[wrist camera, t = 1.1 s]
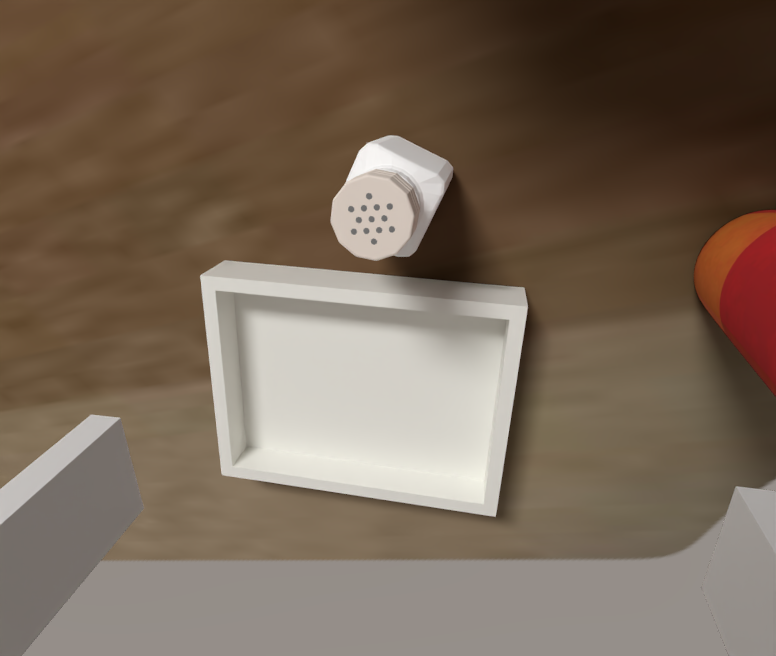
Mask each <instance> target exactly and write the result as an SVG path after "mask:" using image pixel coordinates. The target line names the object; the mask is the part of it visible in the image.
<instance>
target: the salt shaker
mask: <svg viewBox="0 0 776 656" xmlns="http://www.w3.org/2000/svg"><path fill="white" fill-rule="evenodd" d="M452 177H453V167H452V165H451V164H450V163H449V162H448V161H447V160H445V159H443V158H441V157H439V156H437V155H435V154H433V153H431V152H429V151H427V150H425V149H423V148H421V147H419V146H417V145H415V144H413V143H411V142H409V141H407V140H405V139H403V138H401V137H399V136H390V135H389V136H386V137H383V138H380V139H377V140H374V141H372V142H369V143H367V144H366V145H365V146H364V147H363V148H362V149H361V150H360V151H359V153H358V155H357V157H356V160H355V162H354V164H353V166H352V169H351V171H350V173H349V176H348V178H347V180H346V183H345V185H344V186H343V187H342V188H341V190H340V191H339V192H338V194H337V195H336V196H335V198H334V199H333V204H332V213H331V221H330V222H331V224H332V227H333V229H334V231H335V234H336V236H337V239H338V241H339V243H340V244H342V245H343V246H344V247H345V248H346V249H347V250H349V251H350V252H351V253H352V254H353V255H355V256H356V257H361V258H366V259H370V260H375V261H378V260H381V259H384V258H387V257H390V256H393V255H395V256H397V257H409V256H410V255H412V254H413V253H414V252H416V250H417V248H418V246H419V244H420V242H421V240H422V238H423V236H424V234H425V232H426V230H427V228H428V226H429V224H430V222H431V220H432V218H433V216H434V214H435V212H436V210H437V208H438V206H439V204H440V202H441V200H442V198H443V196H444V193H445V191H446V189H447V187H448V185H449V183H450V181H451V179H452Z"/></svg>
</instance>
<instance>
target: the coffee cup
mask: <svg viewBox="0 0 776 656" xmlns="http://www.w3.org/2000/svg"><path fill="white" fill-rule="evenodd" d="M694 284H695V288H696V292H697V294H698V297H699V299H700V300H701V302H702V303H703V305H704V307H705V308H706V310H707V311H708V312H709V314H710V315H711V316H712V318H713V319H714V320H715V322H716V323H717V324H718V325H719V327H720V328H721V329H722V330H723V332H724V333H725V334H726V336H727V337H728V338H729V339H730V341H731V342H732V343H733V344H734V346H735V347H736V348H737V349H738V351H739V352H740V353H741V354H742V356H743V357H744V358H745V359H746V361H747V362H748V363H749V364H750V366H751V367H752V368H753V369H754V371H755V372H756V373H757V374H758V376H759V377H760V378H761V379H762V380H763V382H764V383H765V384H766V385H767V387H768V388H769V389H770V390H771V392H772V393H773V394H774V395H775V397H776V210H762V211H756V212H752V213H748V214H745V215H742V216H740V217H738V218H736V219H734V220H732V221H730V222H728V223H727V224H725V225H724V226H722V227H721V228H720V229H719V230H717V231H716V232H715V233H714V234H713V235H712V236H711V237H710V238H709V239H708V241H707V242H706V243H705V245H704V246H703V248H702V249H701V251H700V253H699V255H698V258H697V261H696V264H695V269H694Z"/></svg>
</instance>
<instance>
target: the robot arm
mask: <svg viewBox="0 0 776 656" xmlns="http://www.w3.org/2000/svg"><path fill="white" fill-rule="evenodd" d="M143 509H144V507H143V503H142V499H141V496H140V492H139V488H138V484H137V480H136V476H135V472H134V469H133V465H132V461H131V457H130V453H129V449H128V445H127V442H126V438H125V434H124V430H123V426H122V422H121V419H120V418H116V417H107V416H98V415H90V416H89V417H88V418H87V419H85V420H84V421H83V422H82V423H80V424H79V425H78V426H77V427H76V428H74V429H73V430H72V431H71V432H69V433H68V434H67V435H66V436H65V437H63V438H62V439H61V440H60V441H58V442H57V443H56V444H55V445H54V446H52V447H51V448H50V449H49V450H47V451H46V452H45V453H44V454H43V455H41V456H40V457H39V458H38V459H36V460H35V461H34V462H33V463H32V464H30V465H29V466H28V467H27V468H25V469H24V470H23V471H22V472H21V473H19V474H18V475H17V476H16V477H14V478H13V479H12V480H11V481H10V482H8V483H7V484H6V485H5V486H3V487H2V488H1V489H0V656H22V655H23V654H24V652H25V651H26V650H27V649H28V647H29V646H30V645H31V644H32V643H33V641H34V640H35V639H36V638H37V637H38V635H39V634H40V633H41V632H42V631H43V629H44V628H45V627H46V626H47V625H48V623H49V622H50V621H51V620H52V619H53V617H54V616H55V615H56V614H57V613H58V611H59V610H60V609H61V608H62V607H63V605H64V604H65V603H66V602H67V600H68V599H69V598H70V597H71V596H72V594H73V593H74V592H75V591H76V590H77V588H78V587H79V586H80V585H81V583H82V582H83V581H84V580H85V579H86V577H87V576H88V575H89V574H90V573H91V572H92V570H93V569H94V568H95V567H96V565H97V564H98V563H99V562H100V561H101V560H102V558H103V557H104V556H105V555H106V554H107V552H108V551H109V550H110V549H111V547H112V546H113V545H114V544H115V543H116V541H117V540H118V539H119V538H120V537H121V535H122V534H123V533H124V532H125V531H126V529H127V528H128V527H129V526H130V525H131V523H132V522H133V521H134V520H135V519H136V517H137V516H138V515H139V514H140V513H141V511H142V510H143ZM701 588H702V591H703V593H704V596H705V598H706V601H707V603H708V606H709V608H710V611H711V613H712V616H713V618H714V621H715V623H716V626H717V628H718V631H719V633H720V636H721V638H722V641H723V643H724V646H725V648H726V651H727V653H728V655H729V656H776V491H773V490H764V489H755V488H746V487H737V486H736V487H735V490H734V493H733V496H732V499H731V502H730V505H729V508H728V511H727V513H726V516H725V519H724V522H723V525H722V528H721V531H720V534H719V537H718V540H717V543H716V546H715V549H714V552H713V555H712V558H711V560H710V563H709V567H708V570H707V572H706V575H705V578H704V581H703V584H702V587H701Z"/></svg>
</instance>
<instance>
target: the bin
mask: <svg viewBox="0 0 776 656" xmlns="http://www.w3.org/2000/svg"><path fill="white" fill-rule="evenodd" d="M200 278H201V287H202V297H203V306H204V315H205V324H206V334H207V343H208V352H209V361H210V371H211V380H212V389H213V398H214V408H215V417H216V426H217V435H218V445H219V454H220V463H221V472H222V475H225V476H232V477H239V478H245V479H252V480H258V481H265V482H271V483H278V484H284V485H291V486H297V487H304V488H310V489H317V490H324V491H330V492H337V493H343V494H350V495H356V496H363V497H369V498H376V499H382V500H389V501H396V502H402V503H409V504H415V505H422V506H428V507H435V508H441V509H448V510H454V511H461V512H468V513H474V514H481V515H487V516H494V517H496V512H497V505H498V499H499V492H500V486H501V479H502V473H503V466H504V460H505V453H506V447H507V440H508V434H509V427H510V421H511V414H512V408H513V401H514V395H515V388H516V382H517V375H518V369H519V362H520V356H521V349H522V343H523V336H524V330H525V323H526V317H527V310H528V304H527V299H526V293H525V288H523V287H512V286H501V285H490V284H479V283H468V282H457V281H446V280H435V279H424V278H413V277H402V276H391V275H380V274H369V273H358V272H347V271H336V270H325V269H314V268H303V267H292V266H281V265H270V264H259V263H247V262H236V261H223V262H221V263H220V264H218V265H217V266H215V267H213V268H212V269H210V270H208V271H207V272H205V273H203V274H202V275H200Z"/></svg>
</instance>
